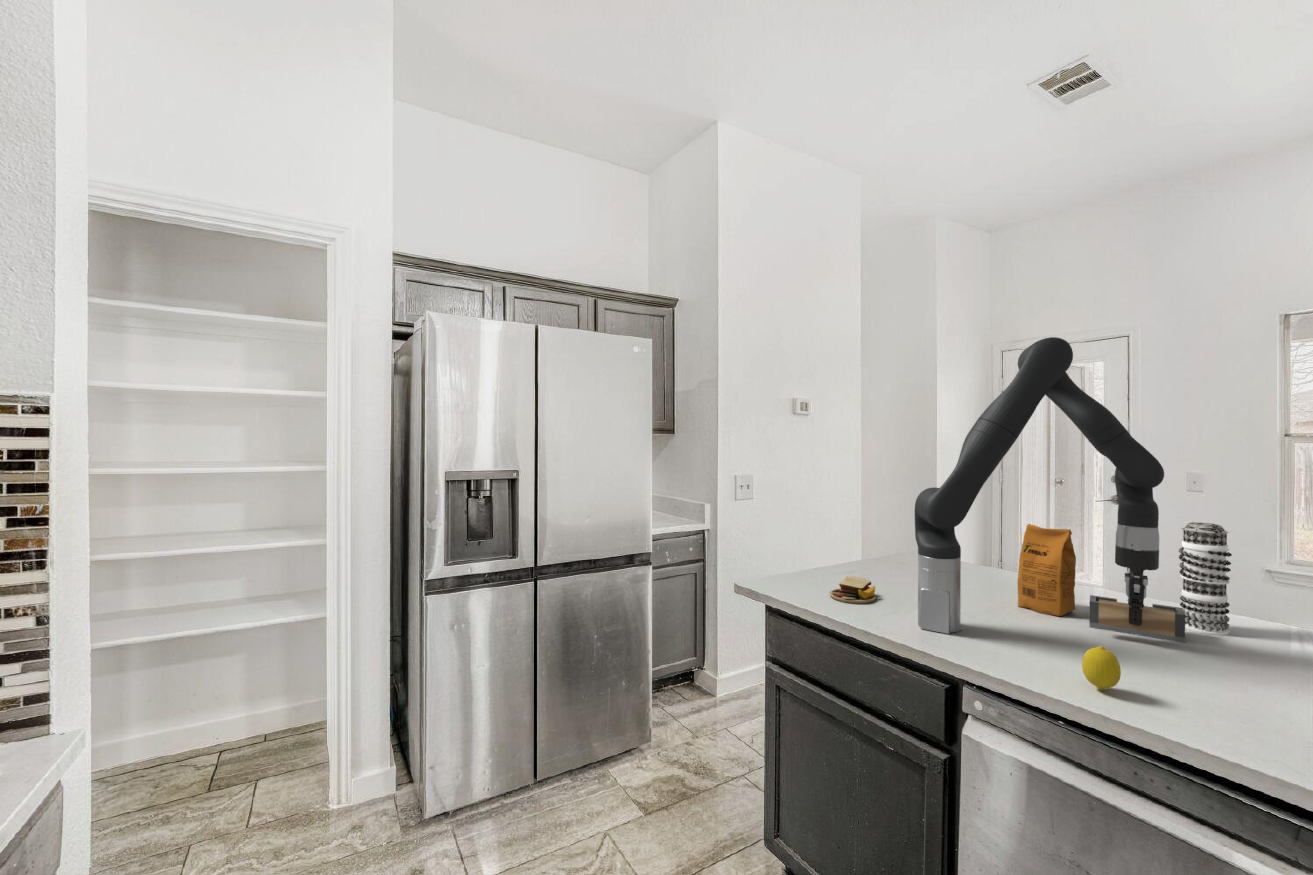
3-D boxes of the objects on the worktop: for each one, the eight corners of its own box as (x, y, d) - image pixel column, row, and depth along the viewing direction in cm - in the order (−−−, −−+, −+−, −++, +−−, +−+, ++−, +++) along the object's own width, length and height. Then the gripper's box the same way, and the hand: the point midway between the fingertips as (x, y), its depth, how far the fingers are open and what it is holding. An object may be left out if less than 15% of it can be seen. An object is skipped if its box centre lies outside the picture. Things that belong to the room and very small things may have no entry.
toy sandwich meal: (820, 598, 163) (820, 581, 163) (846, 589, 172) (846, 573, 172) (860, 608, 154) (860, 590, 154) (886, 598, 163) (886, 581, 163)
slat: (1174, 636, 123) (1175, 613, 123) (1098, 623, 131) (1098, 602, 131) (1173, 633, 126) (1173, 610, 126) (1098, 620, 134) (1098, 599, 134)
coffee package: (1032, 600, 159) (1033, 521, 159) (1082, 613, 148) (1082, 528, 148) (1010, 605, 155) (1010, 524, 155) (1059, 618, 144) (1059, 531, 144)
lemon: (1074, 684, 107) (1074, 641, 107) (1102, 683, 107) (1102, 640, 107) (1099, 697, 101) (1100, 652, 101) (1128, 696, 102) (1129, 651, 102)
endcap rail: (1185, 642, 127) (1185, 615, 127) (1089, 626, 138) (1089, 601, 138) (1181, 632, 134) (1181, 607, 134) (1090, 618, 144) (1090, 594, 144)
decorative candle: (1230, 628, 137) (1231, 523, 136) (1232, 638, 130) (1233, 528, 130) (1178, 619, 143) (1179, 519, 143) (1177, 629, 136) (1178, 524, 136)
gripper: (1115, 539, 136) (1113, 611, 136) (1115, 547, 125) (1113, 626, 125) (1157, 543, 131) (1155, 618, 132) (1161, 553, 121) (1159, 635, 121)
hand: (1134, 622), depth 129 cm, fingers closed on slat, 3 cm apart
